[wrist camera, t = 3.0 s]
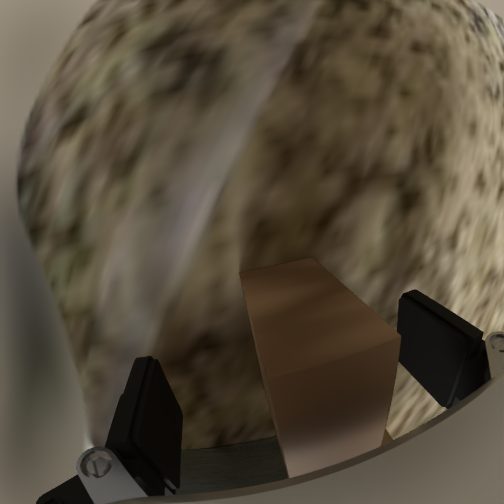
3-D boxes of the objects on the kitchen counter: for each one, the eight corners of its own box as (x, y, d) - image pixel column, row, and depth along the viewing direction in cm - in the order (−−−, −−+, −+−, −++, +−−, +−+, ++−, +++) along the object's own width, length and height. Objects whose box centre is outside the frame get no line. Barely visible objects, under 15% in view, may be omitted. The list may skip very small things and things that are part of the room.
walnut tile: (311, 256, 11) (401, 335, 5) (321, 374, 12) (372, 470, 7) (239, 272, 10) (267, 378, 5) (264, 389, 12) (293, 496, 6)
